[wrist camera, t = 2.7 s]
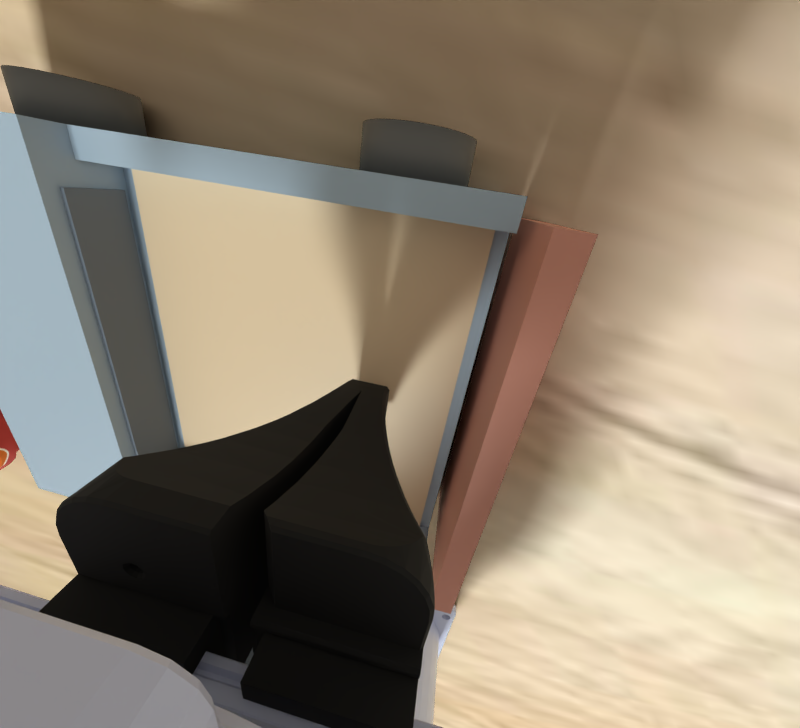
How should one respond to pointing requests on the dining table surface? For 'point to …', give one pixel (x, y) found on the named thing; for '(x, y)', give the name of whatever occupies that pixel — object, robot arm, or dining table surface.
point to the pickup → (230, 284)
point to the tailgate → (504, 387)
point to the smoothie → (6, 443)
